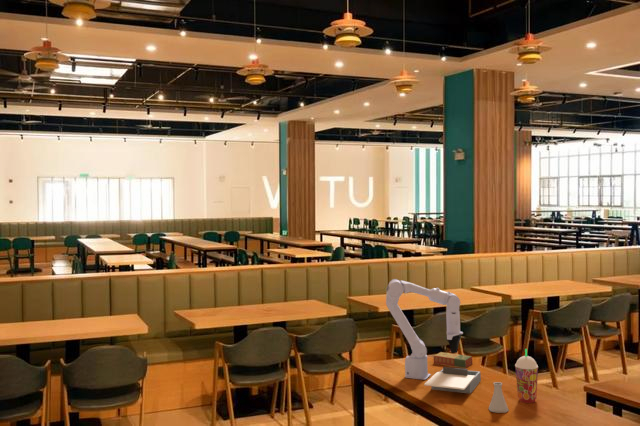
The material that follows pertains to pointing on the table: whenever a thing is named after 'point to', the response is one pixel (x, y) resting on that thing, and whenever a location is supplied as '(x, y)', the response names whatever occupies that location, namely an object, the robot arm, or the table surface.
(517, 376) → the smoothie
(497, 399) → the flask
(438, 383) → the lid
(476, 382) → the box
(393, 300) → the robot arm
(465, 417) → the table surface
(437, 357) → the carton
